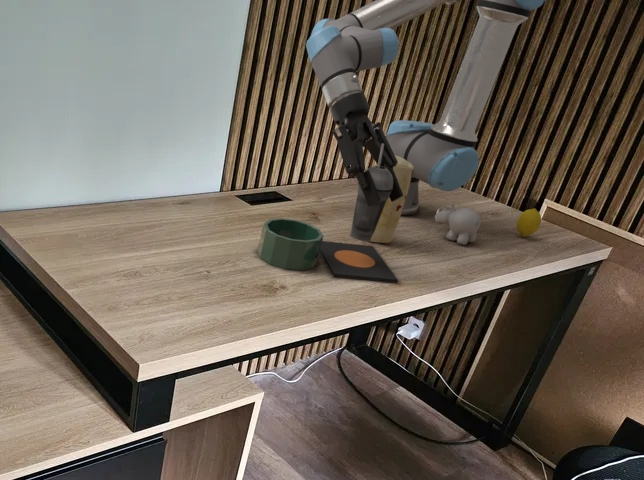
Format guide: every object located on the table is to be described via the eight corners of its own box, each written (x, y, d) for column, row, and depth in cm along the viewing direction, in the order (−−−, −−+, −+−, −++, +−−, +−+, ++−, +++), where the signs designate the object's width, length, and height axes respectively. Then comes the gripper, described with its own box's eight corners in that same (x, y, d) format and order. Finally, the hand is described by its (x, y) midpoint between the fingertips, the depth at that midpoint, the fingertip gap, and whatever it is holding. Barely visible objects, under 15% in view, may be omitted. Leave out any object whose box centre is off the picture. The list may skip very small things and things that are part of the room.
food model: (397, 244, 167) (423, 162, 156) (381, 248, 163) (406, 165, 152) (365, 229, 173) (388, 150, 162) (348, 233, 169) (371, 152, 158)
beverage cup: (358, 244, 146) (386, 150, 135) (337, 231, 151) (361, 140, 141) (384, 242, 149) (412, 150, 139) (362, 229, 154) (388, 140, 144)
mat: (314, 243, 160) (315, 239, 159) (371, 249, 161) (372, 245, 161) (333, 276, 145) (334, 273, 144) (396, 283, 146) (398, 279, 146)
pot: (254, 243, 155) (260, 215, 152) (308, 248, 156) (315, 221, 153) (263, 266, 144) (269, 238, 141) (321, 272, 146) (329, 244, 142)
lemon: (535, 242, 182) (548, 213, 177) (514, 238, 182) (526, 209, 178) (530, 235, 186) (542, 207, 182) (509, 231, 187) (521, 203, 183)
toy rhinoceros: (440, 226, 182) (450, 195, 178) (478, 244, 174) (490, 212, 170) (423, 229, 178) (433, 198, 174) (461, 247, 170) (473, 215, 166)
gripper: (328, 91, 136) (370, 197, 134) (388, 89, 147) (428, 188, 146) (302, 111, 142) (342, 214, 140) (362, 108, 154) (400, 203, 152)
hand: (386, 200), depth 143 cm, fingers closed on beverage cup, 7 cm apart
